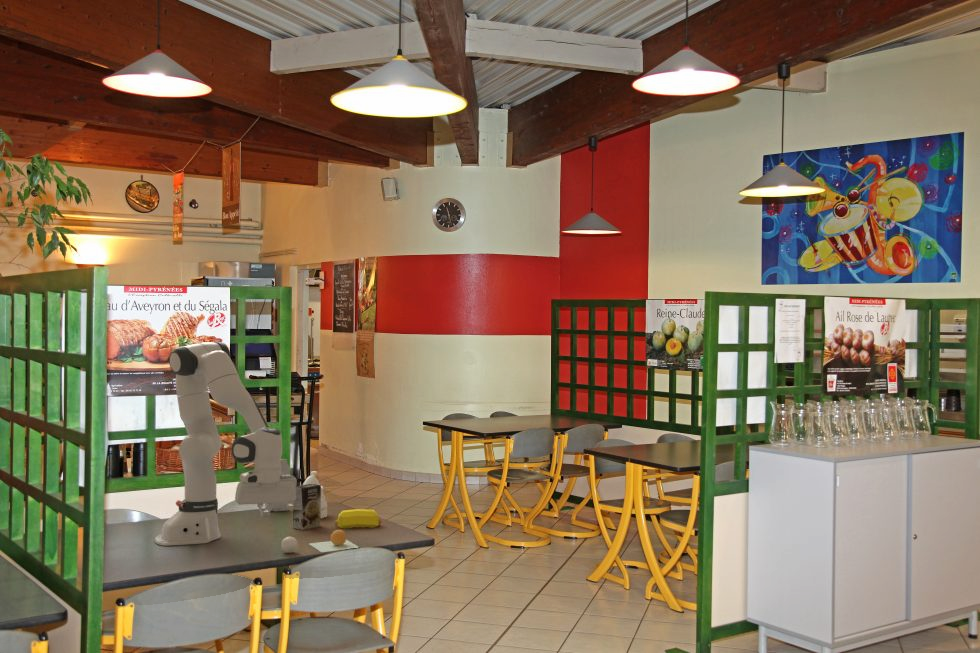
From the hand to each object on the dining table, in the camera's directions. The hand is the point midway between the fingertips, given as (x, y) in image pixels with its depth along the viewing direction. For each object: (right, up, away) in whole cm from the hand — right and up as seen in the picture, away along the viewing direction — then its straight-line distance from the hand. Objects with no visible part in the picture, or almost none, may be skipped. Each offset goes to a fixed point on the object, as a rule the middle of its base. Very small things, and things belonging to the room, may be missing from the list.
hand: (264, 516), depth 305 cm
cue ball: (+8, -10, +1) cm, 13 cm away
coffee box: (+6, -13, +42) cm, 44 cm away
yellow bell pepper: (+25, -14, +44) cm, 52 cm away
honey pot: (+3, -13, +62) cm, 63 cm away
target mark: (+22, -13, +11) cm, 28 cm away
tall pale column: (-13, -13, +73) cm, 76 cm away
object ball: (+23, -10, +13) cm, 28 cm away
